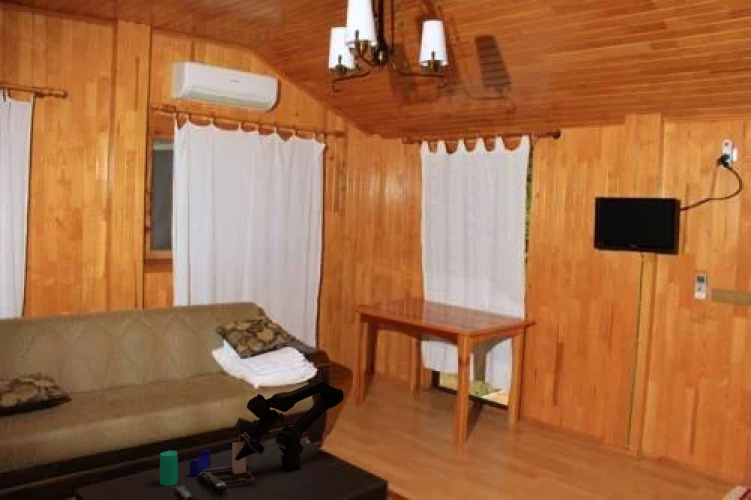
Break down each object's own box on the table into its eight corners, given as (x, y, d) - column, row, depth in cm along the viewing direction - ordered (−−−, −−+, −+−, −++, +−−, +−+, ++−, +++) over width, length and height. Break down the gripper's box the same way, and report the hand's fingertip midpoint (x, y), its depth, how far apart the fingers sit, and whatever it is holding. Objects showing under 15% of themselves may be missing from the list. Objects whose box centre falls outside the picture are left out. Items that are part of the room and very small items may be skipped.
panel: (246, 470, 250) (246, 465, 250) (254, 482, 239) (254, 476, 239) (208, 475, 244) (208, 470, 244) (214, 488, 233) (214, 482, 233)
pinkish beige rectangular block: (244, 470, 246) (244, 441, 245) (247, 475, 242) (247, 444, 241) (230, 472, 244) (230, 442, 243) (233, 476, 240) (233, 446, 239)
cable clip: (199, 465, 255) (199, 449, 255) (210, 465, 255) (210, 450, 255) (185, 476, 244) (185, 460, 243) (197, 477, 243) (197, 461, 243)
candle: (161, 487, 233) (161, 452, 233) (158, 481, 239) (158, 447, 238) (179, 484, 236) (179, 450, 236) (175, 478, 241) (175, 445, 241)
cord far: (246, 466, 254) (246, 462, 254) (248, 469, 251) (248, 465, 251) (201, 472, 247) (201, 468, 247) (203, 475, 245) (203, 471, 245)
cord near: (246, 484, 237) (246, 481, 237) (247, 485, 236) (247, 482, 236) (228, 487, 234) (228, 483, 234) (228, 488, 233) (228, 484, 233)
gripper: (243, 403, 252) (213, 436, 248) (255, 417, 235) (223, 452, 231) (263, 422, 255) (234, 454, 251) (277, 436, 238) (246, 472, 234)
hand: (234, 457), depth 242 cm, fingers closed on pinkish beige rectangular block, 4 cm apart
